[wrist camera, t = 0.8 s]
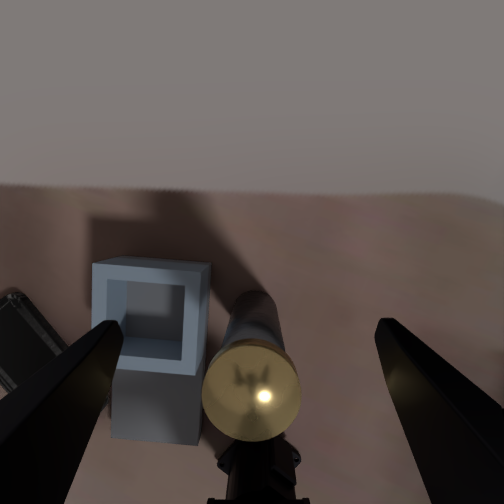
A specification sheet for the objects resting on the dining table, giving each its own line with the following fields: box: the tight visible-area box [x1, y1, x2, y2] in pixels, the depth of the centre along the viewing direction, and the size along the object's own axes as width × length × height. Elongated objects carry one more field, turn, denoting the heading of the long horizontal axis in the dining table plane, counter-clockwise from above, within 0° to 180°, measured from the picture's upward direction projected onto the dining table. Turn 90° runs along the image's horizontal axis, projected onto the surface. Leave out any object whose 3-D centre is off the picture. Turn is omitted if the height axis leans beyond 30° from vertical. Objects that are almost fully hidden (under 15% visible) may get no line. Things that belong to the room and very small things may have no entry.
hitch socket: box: [92, 255, 212, 446], centre depth 26 cm, size 18×9×5 cm, turn 175°
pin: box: [202, 290, 301, 442], centre depth 21 cm, size 5×5×13 cm
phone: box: [0, 292, 109, 411], centre depth 29 cm, size 8×1×15 cm
